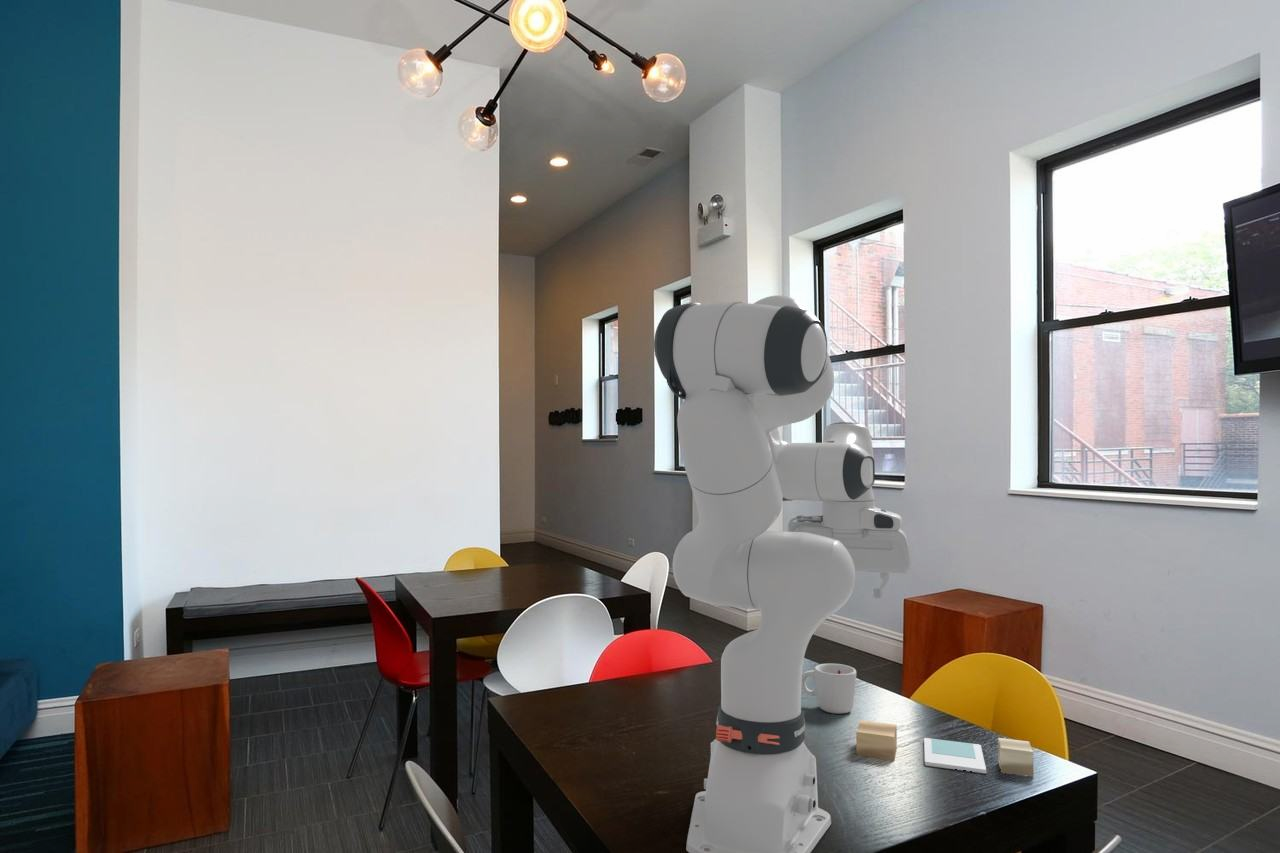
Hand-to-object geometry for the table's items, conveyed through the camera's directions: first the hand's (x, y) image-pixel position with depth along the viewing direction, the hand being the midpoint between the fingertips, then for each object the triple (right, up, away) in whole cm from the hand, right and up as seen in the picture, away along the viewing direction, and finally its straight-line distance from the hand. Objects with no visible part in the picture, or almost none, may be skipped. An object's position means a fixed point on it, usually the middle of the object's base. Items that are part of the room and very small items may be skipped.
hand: (849, 596), depth 129 cm
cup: (+1, -26, +18) cm, 32 cm away
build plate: (+16, -25, -6) cm, 30 cm away
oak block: (+4, -26, -3) cm, 26 cm away
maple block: (+23, -25, -11) cm, 36 cm away
